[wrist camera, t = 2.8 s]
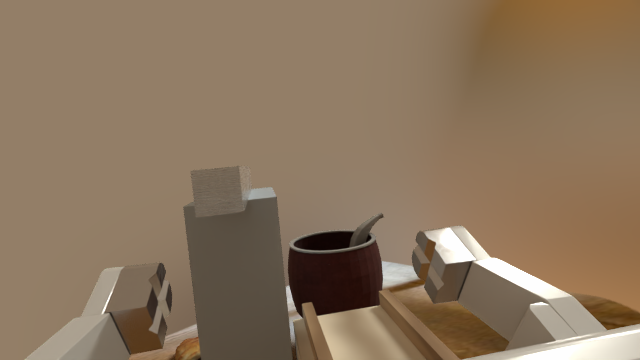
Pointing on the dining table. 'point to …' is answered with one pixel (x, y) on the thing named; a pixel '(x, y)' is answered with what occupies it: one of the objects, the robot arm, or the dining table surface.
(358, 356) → the cradle block
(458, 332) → the dining table surface
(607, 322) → the dining table surface
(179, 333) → the dining table surface
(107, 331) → the robot arm
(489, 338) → the dining table surface
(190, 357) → the pastry
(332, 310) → the mate gourd
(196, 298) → the grey tall block
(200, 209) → the bar
